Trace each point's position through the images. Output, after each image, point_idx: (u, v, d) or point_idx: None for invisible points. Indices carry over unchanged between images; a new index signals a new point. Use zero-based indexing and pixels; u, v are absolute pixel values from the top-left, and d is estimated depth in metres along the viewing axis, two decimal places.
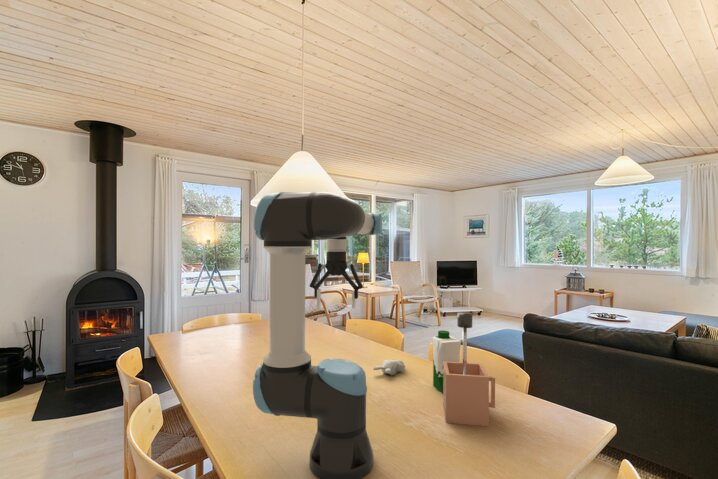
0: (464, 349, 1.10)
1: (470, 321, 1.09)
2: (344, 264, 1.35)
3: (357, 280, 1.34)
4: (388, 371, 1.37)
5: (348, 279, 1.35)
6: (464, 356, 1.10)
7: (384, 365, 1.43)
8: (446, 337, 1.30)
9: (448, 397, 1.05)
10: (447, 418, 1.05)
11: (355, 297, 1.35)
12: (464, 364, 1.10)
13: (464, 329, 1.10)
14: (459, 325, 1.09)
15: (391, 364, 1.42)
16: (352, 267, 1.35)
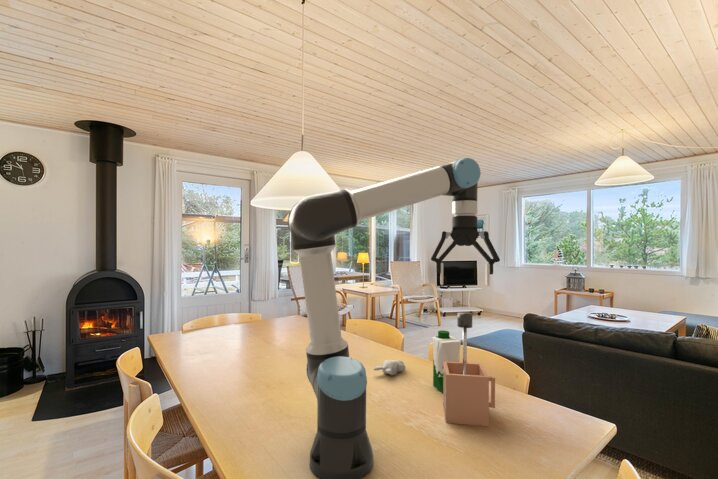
0: (464, 349, 1.10)
1: (470, 321, 1.09)
2: (476, 232, 1.09)
3: (493, 251, 1.08)
4: (389, 371, 1.37)
5: (482, 250, 1.09)
6: (464, 356, 1.10)
7: (384, 365, 1.43)
8: (446, 337, 1.30)
9: (448, 397, 1.05)
10: (447, 418, 1.05)
11: (490, 272, 1.09)
12: (464, 364, 1.10)
13: (464, 329, 1.10)
14: (459, 325, 1.09)
15: (391, 364, 1.42)
16: (487, 235, 1.09)
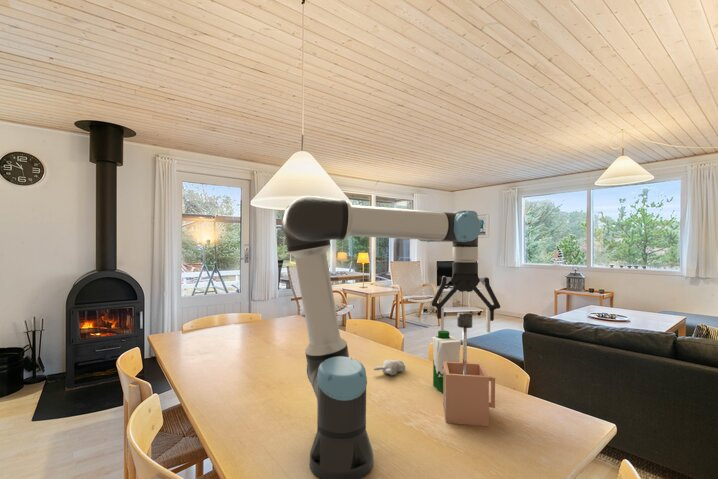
0: (464, 349, 1.10)
1: (470, 321, 1.09)
2: (477, 278, 1.09)
3: (494, 298, 1.08)
4: (389, 371, 1.37)
5: (482, 296, 1.08)
6: (464, 356, 1.10)
7: (384, 365, 1.43)
8: (446, 337, 1.30)
9: (448, 397, 1.05)
10: (447, 418, 1.05)
11: (491, 319, 1.09)
12: (464, 364, 1.10)
13: (464, 329, 1.10)
14: (459, 325, 1.09)
15: (391, 364, 1.42)
16: (487, 282, 1.08)
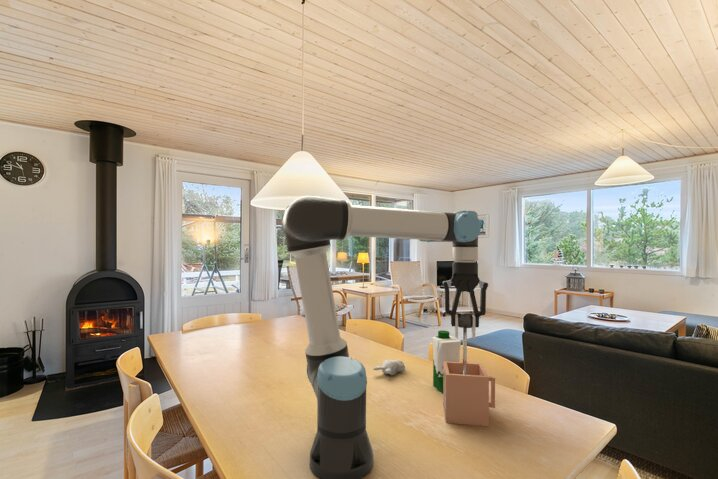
0: (464, 349, 1.10)
1: (470, 321, 1.09)
2: (477, 279, 1.09)
3: (483, 304, 1.08)
4: (388, 371, 1.37)
5: (474, 300, 1.09)
6: (464, 356, 1.10)
7: (384, 365, 1.43)
8: (446, 337, 1.30)
9: (448, 397, 1.05)
10: (447, 418, 1.05)
11: (476, 325, 1.09)
12: (464, 364, 1.10)
13: (464, 329, 1.10)
14: (459, 325, 1.09)
15: (391, 364, 1.42)
16: (485, 287, 1.08)
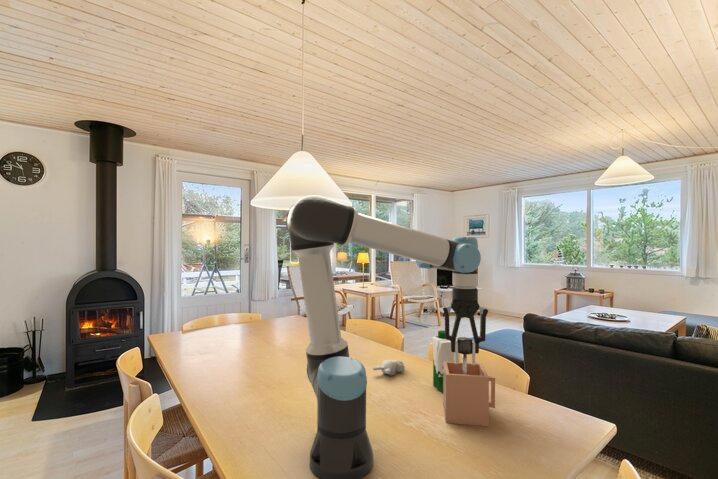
0: None
1: (470, 347, 1.09)
2: (477, 305, 1.09)
3: (483, 330, 1.08)
4: (387, 371, 1.37)
5: (474, 327, 1.09)
6: None
7: (384, 365, 1.43)
8: None
9: (448, 397, 1.05)
10: (447, 418, 1.05)
11: (476, 351, 1.09)
12: None
13: (464, 355, 1.10)
14: (459, 351, 1.09)
15: (391, 364, 1.42)
16: (485, 313, 1.08)
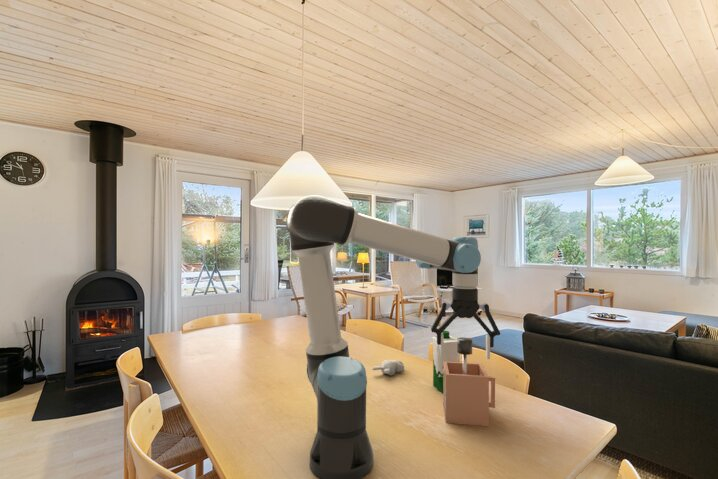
0: None
1: (470, 348, 1.09)
2: (476, 304, 1.09)
3: (494, 324, 1.08)
4: (387, 371, 1.37)
5: (482, 323, 1.08)
6: None
7: (383, 365, 1.43)
8: (446, 337, 1.30)
9: (448, 397, 1.05)
10: (447, 418, 1.05)
11: (491, 345, 1.08)
12: None
13: (464, 355, 1.10)
14: (459, 351, 1.09)
15: (390, 364, 1.42)
16: (487, 308, 1.08)
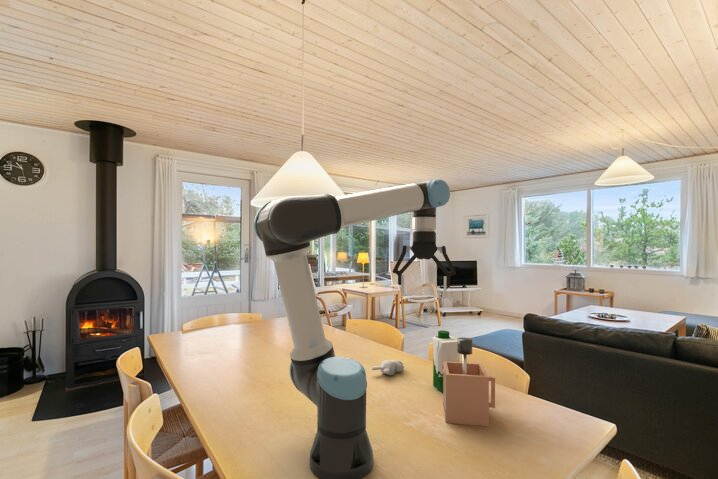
0: None
1: (470, 348, 1.09)
2: (434, 246, 1.16)
3: (450, 265, 1.15)
4: (386, 371, 1.37)
5: (439, 264, 1.15)
6: None
7: (383, 365, 1.43)
8: (446, 337, 1.30)
9: (448, 397, 1.05)
10: (447, 418, 1.05)
11: (447, 285, 1.15)
12: None
13: (464, 355, 1.10)
14: (459, 351, 1.09)
15: (390, 364, 1.42)
16: (444, 250, 1.15)
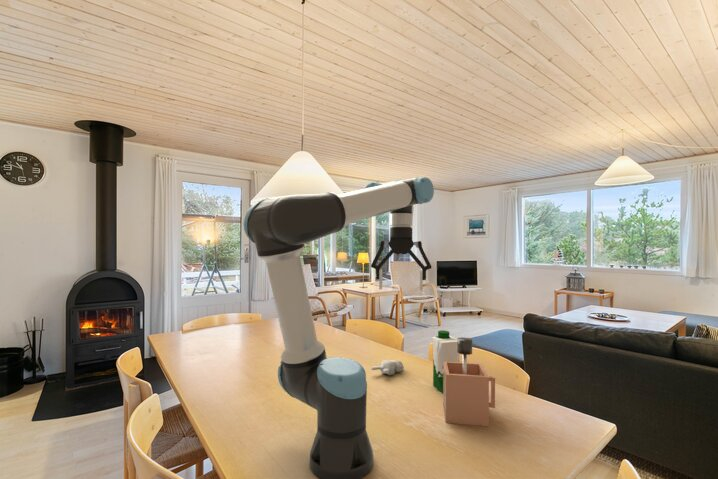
0: None
1: (470, 348, 1.09)
2: (411, 241, 1.20)
3: (426, 259, 1.19)
4: (386, 371, 1.37)
5: (415, 258, 1.20)
6: None
7: (382, 365, 1.43)
8: (446, 337, 1.30)
9: (448, 397, 1.05)
10: (447, 418, 1.05)
11: (423, 278, 1.20)
12: None
13: (464, 355, 1.10)
14: (459, 351, 1.09)
15: (389, 364, 1.42)
16: (420, 244, 1.20)
